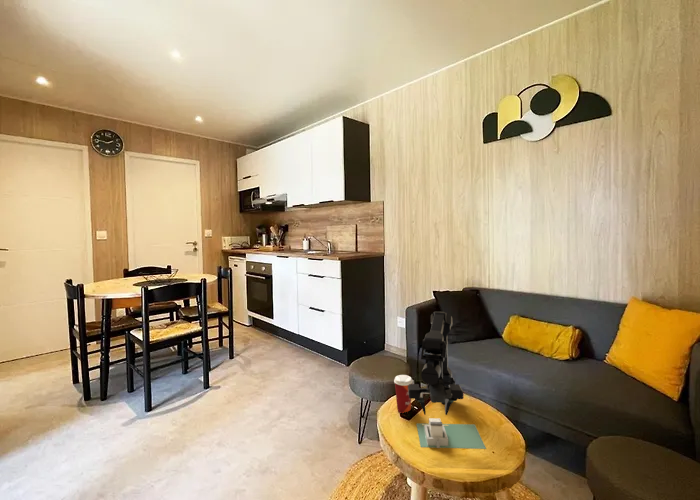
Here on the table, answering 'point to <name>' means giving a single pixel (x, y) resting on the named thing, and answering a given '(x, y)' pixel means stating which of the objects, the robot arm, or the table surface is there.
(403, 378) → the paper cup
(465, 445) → the board
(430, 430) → the plug
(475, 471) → the table surface
